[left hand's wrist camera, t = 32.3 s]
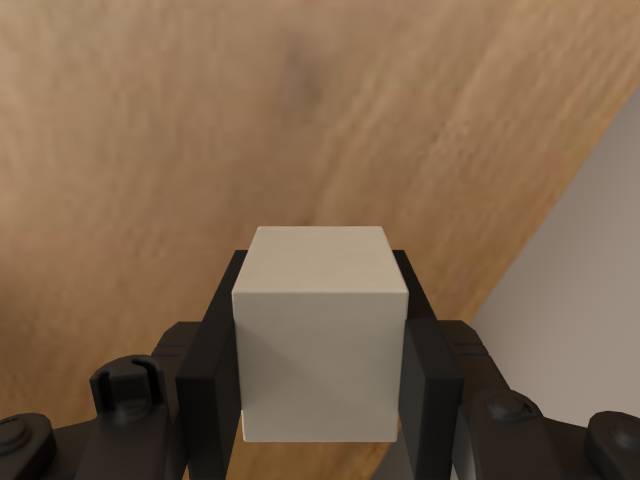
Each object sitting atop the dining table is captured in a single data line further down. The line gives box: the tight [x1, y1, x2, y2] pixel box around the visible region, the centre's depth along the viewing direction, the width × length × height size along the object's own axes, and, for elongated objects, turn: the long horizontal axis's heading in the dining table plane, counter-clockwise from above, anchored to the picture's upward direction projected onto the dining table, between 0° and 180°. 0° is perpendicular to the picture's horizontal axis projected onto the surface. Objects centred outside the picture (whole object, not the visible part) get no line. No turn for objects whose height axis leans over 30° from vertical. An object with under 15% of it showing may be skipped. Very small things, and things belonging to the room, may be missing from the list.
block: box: [232, 226, 409, 442], centre depth 13 cm, size 4×5×5 cm
